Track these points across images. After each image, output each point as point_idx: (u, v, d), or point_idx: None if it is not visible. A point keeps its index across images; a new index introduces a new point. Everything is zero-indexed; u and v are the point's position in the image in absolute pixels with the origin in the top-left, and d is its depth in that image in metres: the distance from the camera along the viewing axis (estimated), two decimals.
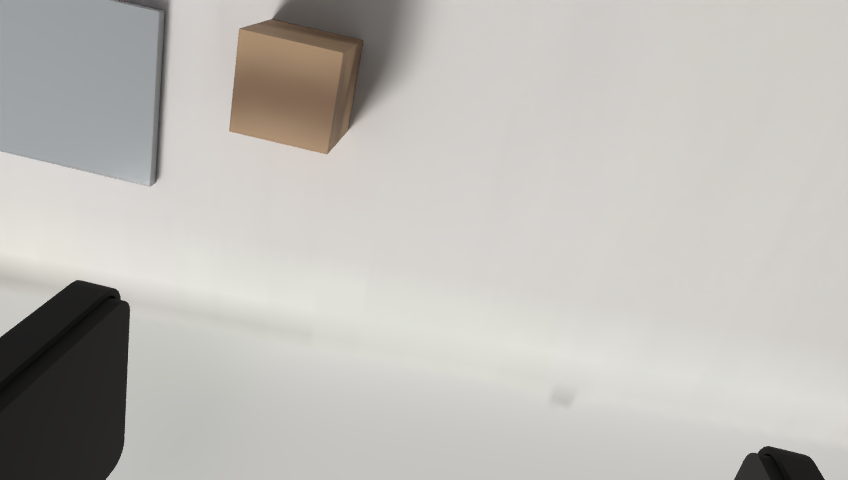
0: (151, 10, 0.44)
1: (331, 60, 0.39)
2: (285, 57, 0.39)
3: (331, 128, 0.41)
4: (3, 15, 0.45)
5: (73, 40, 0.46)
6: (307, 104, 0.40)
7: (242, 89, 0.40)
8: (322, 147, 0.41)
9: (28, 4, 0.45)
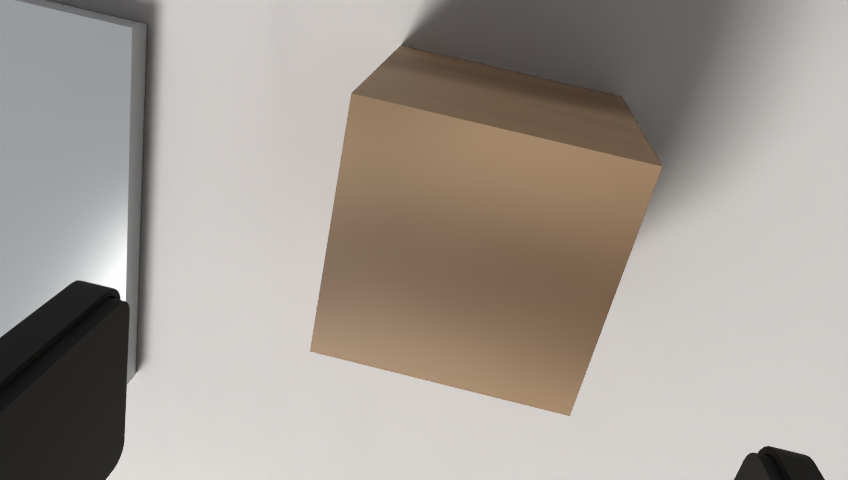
0: (114, 24, 0.19)
1: (622, 186, 0.13)
2: (484, 176, 0.14)
3: (589, 355, 0.15)
4: None
5: None
6: (530, 298, 0.14)
7: (351, 254, 0.15)
8: (559, 400, 0.15)
9: None
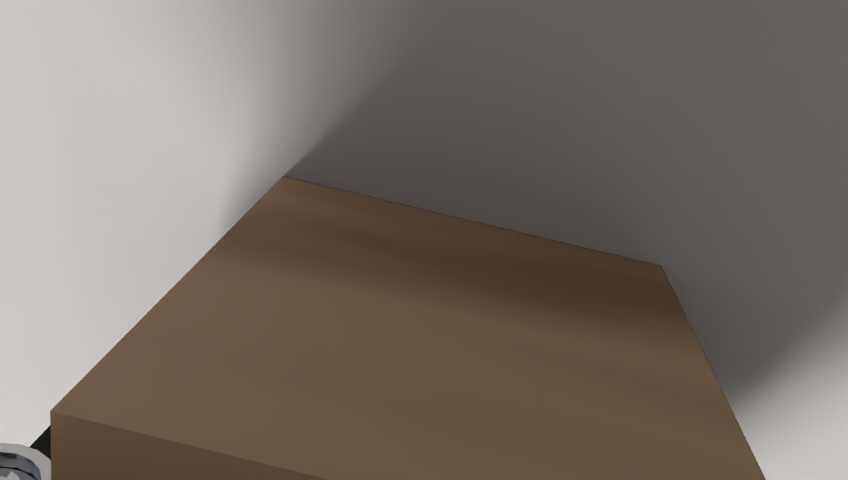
0: None
1: None
2: None
3: None
4: None
5: None
6: None
7: None
8: None
9: None
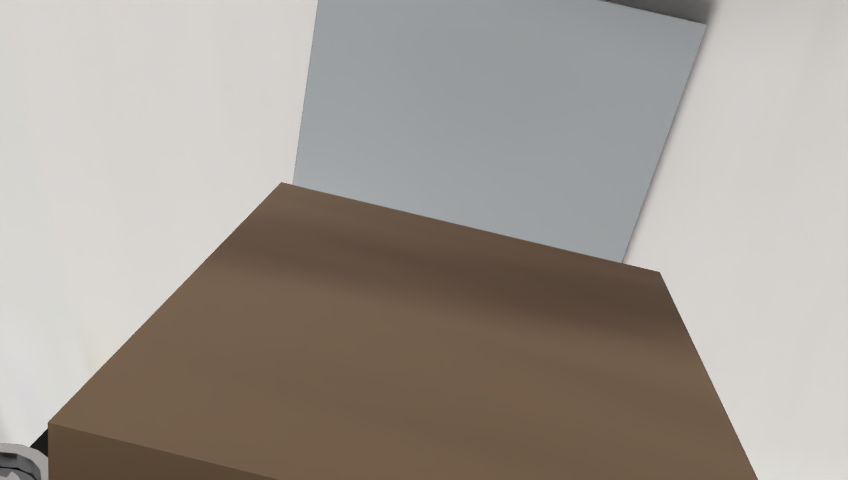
0: (688, 22, 0.21)
1: None
2: None
3: None
4: (363, 32, 0.23)
5: (502, 82, 0.23)
6: None
7: None
8: None
9: (422, 9, 0.22)
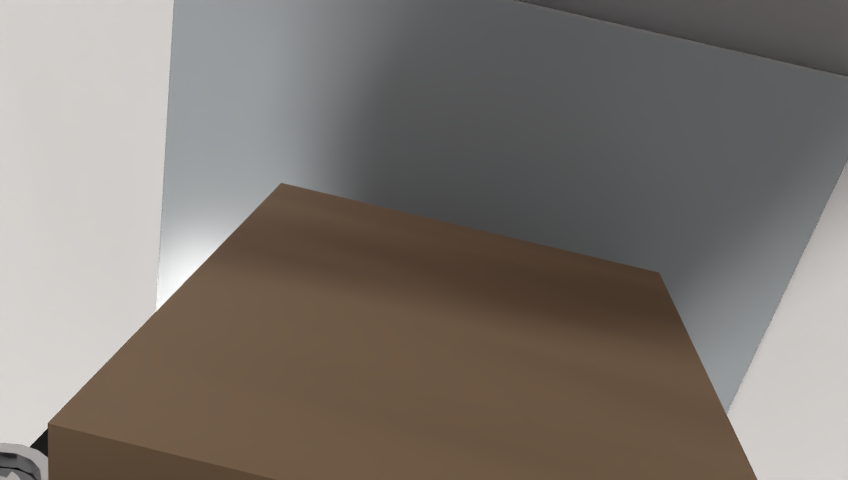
0: (846, 82, 0.12)
1: None
2: None
3: None
4: (255, 93, 0.13)
5: (501, 181, 0.13)
6: None
7: None
8: None
9: (356, 55, 0.12)
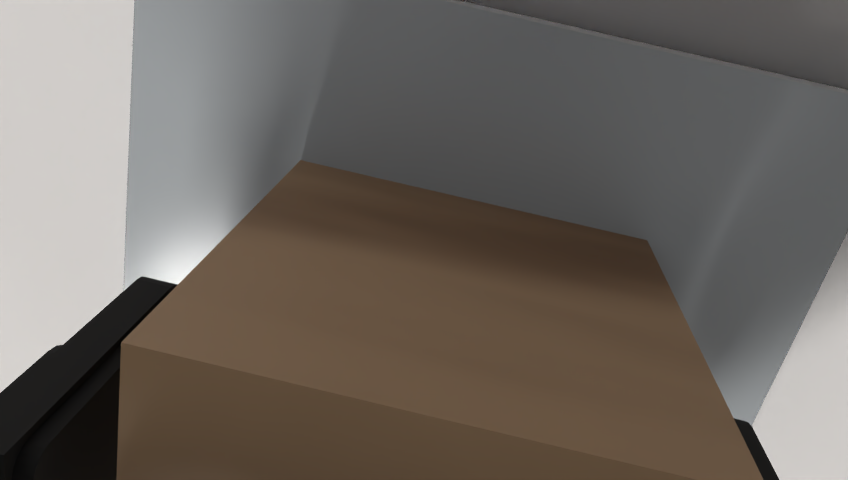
0: None
1: None
2: None
3: None
4: (224, 112, 0.12)
5: None
6: None
7: None
8: None
9: (334, 72, 0.11)
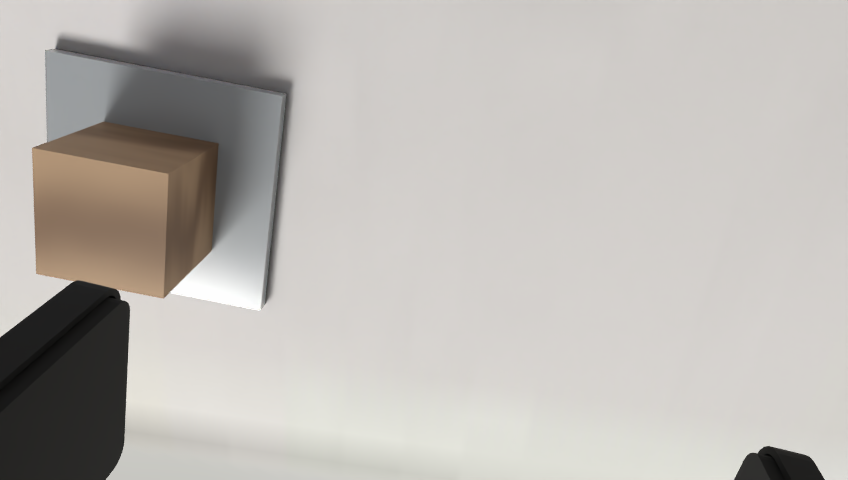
0: (272, 94, 0.34)
1: (154, 183, 0.30)
2: (95, 182, 0.30)
3: (165, 266, 0.32)
4: (77, 106, 0.35)
5: None
6: (130, 238, 0.31)
7: (46, 222, 0.31)
8: (156, 290, 0.32)
9: (110, 91, 0.35)
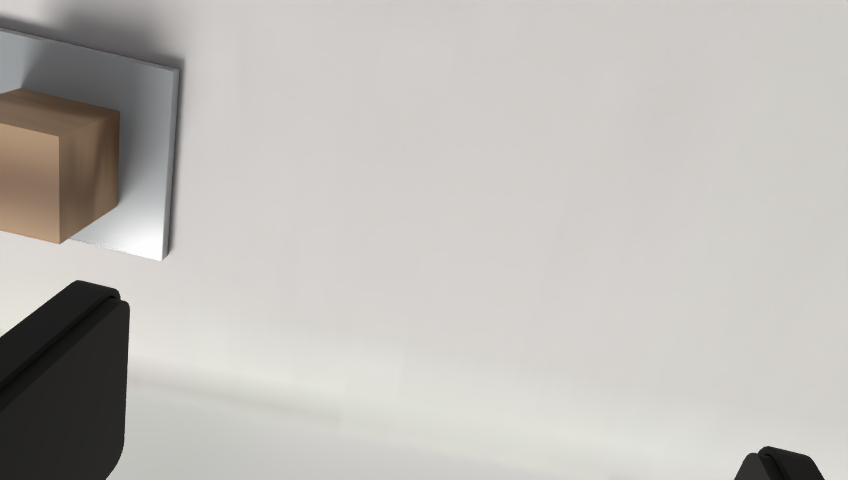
0: (164, 70, 0.39)
1: (47, 144, 0.35)
2: None
3: (60, 216, 0.37)
4: None
5: None
6: (29, 191, 0.36)
7: None
8: (53, 237, 0.37)
9: (25, 62, 0.40)
